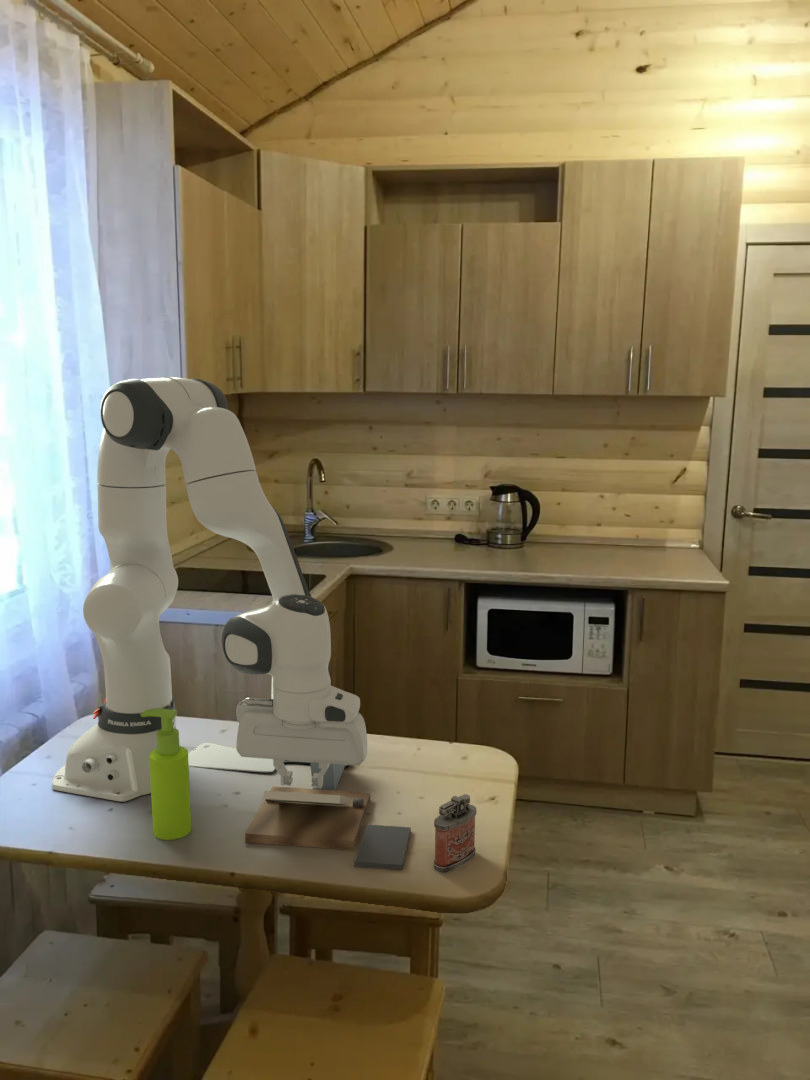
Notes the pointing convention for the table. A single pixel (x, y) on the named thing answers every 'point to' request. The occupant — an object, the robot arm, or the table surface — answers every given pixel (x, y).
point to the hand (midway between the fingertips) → (301, 785)
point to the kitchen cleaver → (230, 759)
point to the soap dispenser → (169, 780)
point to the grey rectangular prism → (328, 775)
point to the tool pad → (383, 847)
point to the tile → (307, 798)
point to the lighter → (454, 834)
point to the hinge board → (309, 821)
